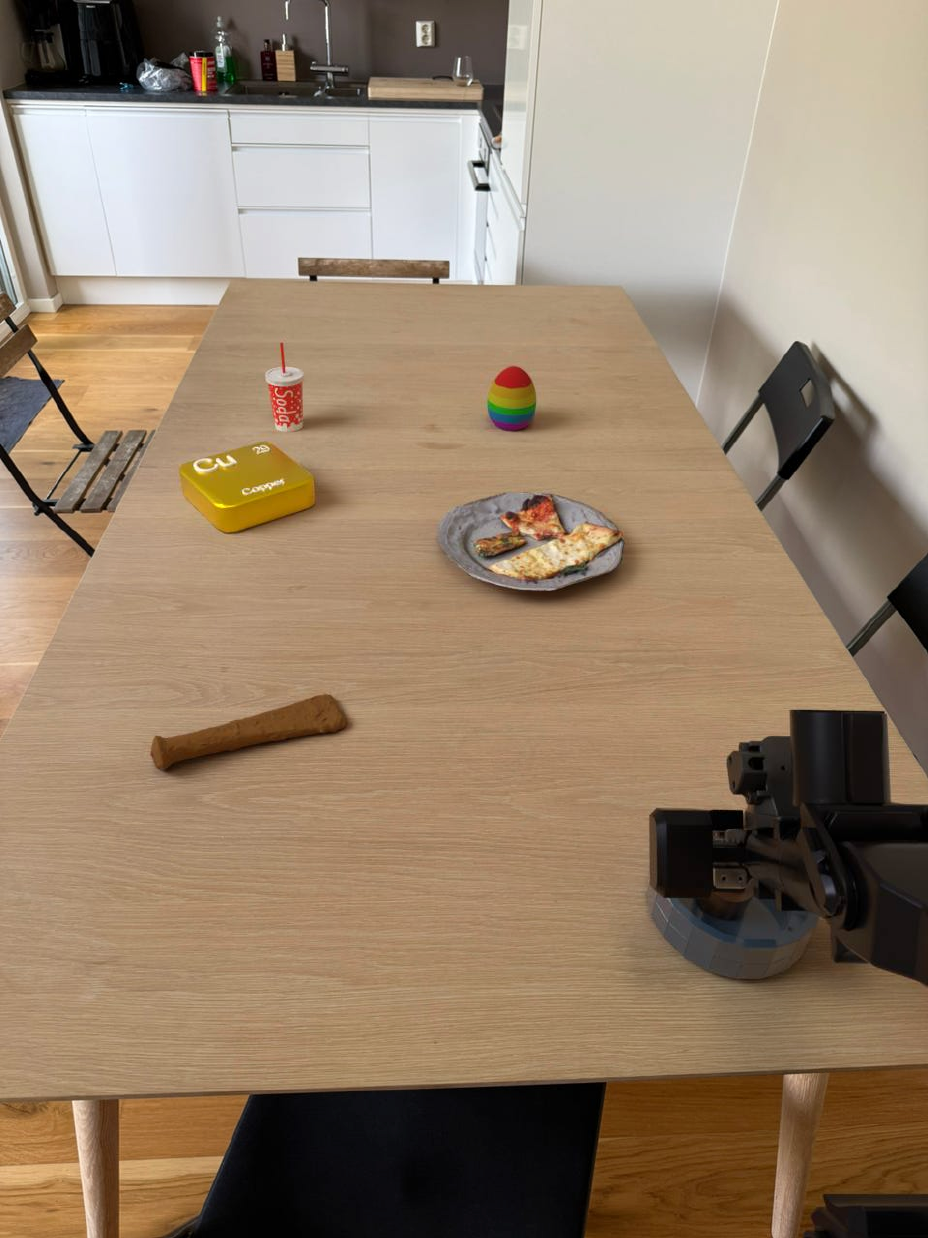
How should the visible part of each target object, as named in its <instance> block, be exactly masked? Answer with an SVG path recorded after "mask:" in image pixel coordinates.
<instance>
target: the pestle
mask: <svg viewBox="0 0 928 1238" xmlns="http://www.w3.org/2000/svg"><path fill="white" fill-rule="evenodd" d="M745 811H753V805H748V804H747V806H746V808H745V810H744V811H743V813H744V814H743V821H744V829H746V827H745ZM746 867H747V866H745V868H746ZM753 896H754V889H753V879H752V880H750V882H749V885H748V886H747V887H745V892H713V891H712V894H711V897H710V899H706V898H697V899H698V902H699V903H700V905H701V906H702V908H703V909H704V910H705V911H706V912H707V913H709V914H710V915H712V916H714V917H716V918H719V919H722V920H733V919H736V918H738V917H740V916H741V915H742V914H743V913H744V912H745V910H746V908H747V907H748V905H749V903H750V901H751V900H752V898H753Z"/></svg>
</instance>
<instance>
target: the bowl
mask: <svg viewBox="0 0 928 1238" xmlns="http://www.w3.org/2000/svg"><path fill="white" fill-rule="evenodd" d="M707 810H708V811H710V810H711V809H707ZM743 814H744V812H743ZM645 895H646V901H647V905H648V909H649V913H650V917H651V919H652V921H653V922H654V924H655V926H656V928H657V929H658V931H659V933H660V934H661V936H662V937H663V938H664V940H665V941H666V942H667V943H668V944H669V945H670V946H671V947H673V949H674V950H676V951H677V952H678V954H679V955H680V956H682V957H683V958H684V959H686V960H688V961H689V962H692V963H693V964H695V965H696V966H699V967H700V968H702V969H704V970H705V971H708V972H710V973H714V974H718V975H721V976H725V977H728V978H731V979H736V980H762V979H767V978H768V977H771V976H774V975H777V974H780V973H783V972H785V971H787V970H788V969H789V968H790V967H792V965H794V964H795V963H796V962H797V961H798V960H800V959H801V958H802V956H803V955H804V952H805V950H806V948H807V947H808V946H807V945H808V944H809V942H810V940H811V938H812V935H813V933H814V931H815V929H816V927H817V925H818V922H819V921H820V918H821V917H820V916H818V915H816V914H814V913H812V912H809V911H781V910H779V909H777V908H776V901H775V899H757V898H755V897H754V896H753V898H752V900H751V901H750V903H749V905H748V907H747V908H746V910H745V912H744V913H743V914H742V915H741V916H740V917H738V918H736V919H733V920H722V919H719V918H716V917H714V916H712V915H710V914H709V913H707V912H706V911H705V910H704V909H703V908H702V906H701V905H700V903H699V902H698V899H697V898H663V897H662V896H660V895H659V894H657V893H656V892H655V890H654V889H653V888H652V887H651V886H650V872H649V874H648V880H647V886H646V893H645Z"/></svg>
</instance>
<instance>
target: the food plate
mask: <svg viewBox="0 0 928 1238" xmlns="http://www.w3.org/2000/svg"><path fill="white" fill-rule="evenodd" d="M437 530H438V531H437V537H436V538H437V541H438V543H439V546H440V548H441V550H442V551H443V552H444V554H445V555H447V556H448V557H449V559H450V560H452V562H453V563H455V565H457V566H459V568H460V569H462V570H463V571H464V572H466V574H468V575H469V576H471V577H473V578H474V579H477V580H480V581H482V582H487V583H490V584H494V585H496V586H499V587H503V588H509V589H514V590H522V591H523V590H524V591H539V592H541V591H548V592H550V591H551V592H552V591H556V590H558V589H563V588H564V587H565V588H566V587H568V586H570V585H574V584H579V583H581V582H585V581H588V580H589V579H592V578H595V577H597V576H598V577H599V576H601V575H604V574H605V573H610V572H612V571H614V570H615V569H616V568H618V567H619V566H620V565H621V563H622V561H623V556H624V549H625V544H626V543H625V541H624V539H623V535H624V534H623V532H622V531H621V530H619V528H618V526H616V524H614V522H613V521H611V520H610V519H609V518H608V517H607V516H606V515H605V514H604V513H602V512H601V510H598V509H596V508H594V507H592V506H591V505H589V504H586V503H584V502H581V501H578V500H575V499H571V498H568V497H565V496H561V495H559V494H554V493H550V492H549V493H547V492H546V493H545V492H538V493H536V492H531V491H524V492H511V491H510V492H503V493H499V494H495V495H490V496H487V497H485V498H480V499H477V500H474V501H469V502H466V503H464V504H460V505H456V506H454V507H453V508H452V509H450V510H449V511H446V513H445V514H444V515H443V516H442V517H441V519H440V522H439V524H438V527H437Z"/></svg>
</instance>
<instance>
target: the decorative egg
mask: <svg viewBox="0 0 928 1238" xmlns="http://www.w3.org/2000/svg"><path fill="white" fill-rule="evenodd" d="M488 390H489V391H488V395H487V401H486V404H487V412H488V415H489V419H490V420H491V422H492V423H493V424H494V426H496V427H497V428H498V429H501V430H505V431H520V430H522V429H524V428H526V427H527V426H528V425H529V424H530V422H531V421H532V420H533V418H534V415H535V413H536V408H537V393H536V388H535V385H534V382H533V380H532V378H531V376H530V375H529V374H528V372H526V371H525V370H524V369H523V368H521V367H520V366H517V365H511V366H507V367H505V368H504V369H503V370H501V371H500V372H499V373H498V374H497V375H496V377H495V378H494V379H493V381H492V383H491V385H490V388H489V389H488Z"/></svg>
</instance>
